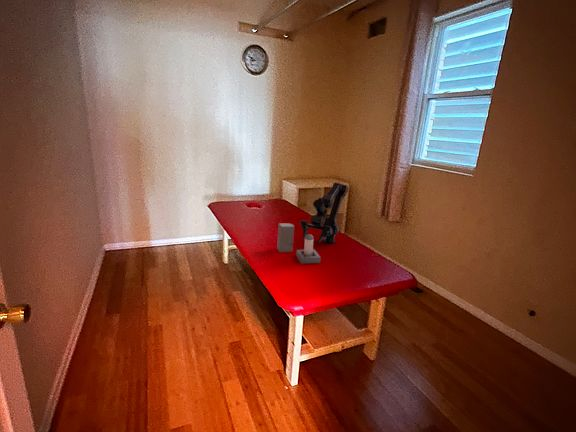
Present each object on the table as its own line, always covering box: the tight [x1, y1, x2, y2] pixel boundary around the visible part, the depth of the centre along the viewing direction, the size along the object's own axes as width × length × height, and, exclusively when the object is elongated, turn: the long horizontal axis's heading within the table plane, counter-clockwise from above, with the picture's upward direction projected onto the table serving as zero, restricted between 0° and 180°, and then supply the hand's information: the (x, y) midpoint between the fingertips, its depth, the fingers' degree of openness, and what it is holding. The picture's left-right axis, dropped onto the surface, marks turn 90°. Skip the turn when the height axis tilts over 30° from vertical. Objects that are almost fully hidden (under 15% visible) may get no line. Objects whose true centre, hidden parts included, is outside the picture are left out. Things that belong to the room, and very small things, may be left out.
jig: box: [295, 248, 322, 264], centre depth 177 cm, size 11×11×3 cm
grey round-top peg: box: [303, 233, 314, 256], centre depth 175 cm, size 5×5×13 cm
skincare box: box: [276, 222, 295, 253], centre depth 185 cm, size 8×7×16 cm
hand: (310, 240), depth 176 cm, fingers open, 9 cm apart
